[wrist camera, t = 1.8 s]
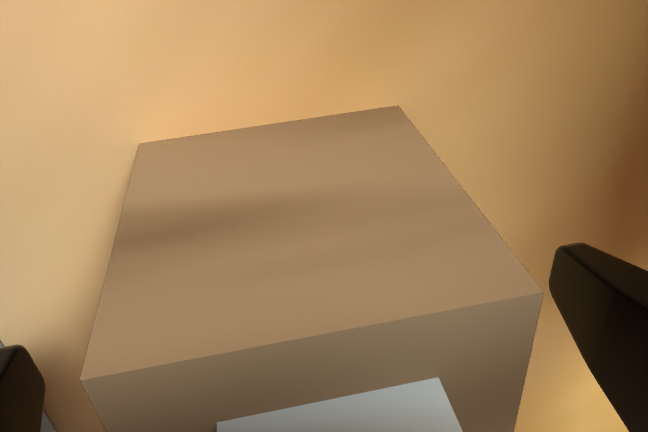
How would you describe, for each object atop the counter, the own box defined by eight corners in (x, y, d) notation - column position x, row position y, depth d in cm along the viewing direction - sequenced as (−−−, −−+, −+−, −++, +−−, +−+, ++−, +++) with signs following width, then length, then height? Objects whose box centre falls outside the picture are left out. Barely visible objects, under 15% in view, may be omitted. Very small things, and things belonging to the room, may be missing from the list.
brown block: (396, 307, 12) (516, 591, 7) (201, 344, 12) (195, 671, 7) (397, 104, 9) (591, 352, 5) (139, 142, 9) (58, 462, 4)
